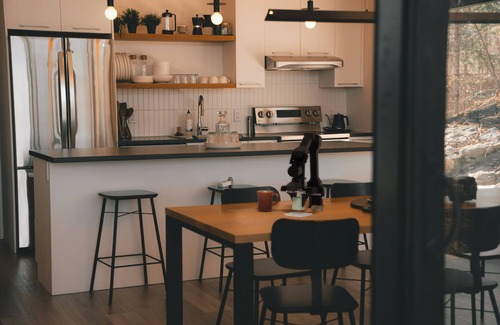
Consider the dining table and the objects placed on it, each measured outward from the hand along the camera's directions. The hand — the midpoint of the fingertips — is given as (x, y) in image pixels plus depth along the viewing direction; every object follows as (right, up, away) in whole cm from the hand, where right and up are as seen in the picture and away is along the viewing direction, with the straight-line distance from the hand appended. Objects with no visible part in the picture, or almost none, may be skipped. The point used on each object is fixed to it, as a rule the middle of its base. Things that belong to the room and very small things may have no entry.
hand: (298, 206), depth 351 cm
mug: (-15, -3, +12) cm, 20 cm away
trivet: (0, -4, 0) cm, 4 cm away
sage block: (0, -1, 0) cm, 1 cm away
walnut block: (+11, -4, +15) cm, 18 cm away
